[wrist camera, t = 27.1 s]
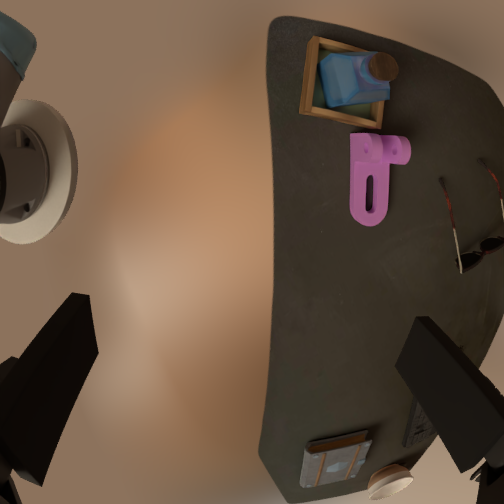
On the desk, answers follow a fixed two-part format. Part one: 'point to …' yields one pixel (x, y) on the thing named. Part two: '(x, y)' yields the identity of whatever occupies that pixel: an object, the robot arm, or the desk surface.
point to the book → (333, 459)
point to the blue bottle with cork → (356, 77)
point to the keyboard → (417, 426)
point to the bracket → (373, 172)
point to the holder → (313, 93)
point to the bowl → (388, 481)
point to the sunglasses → (486, 245)
